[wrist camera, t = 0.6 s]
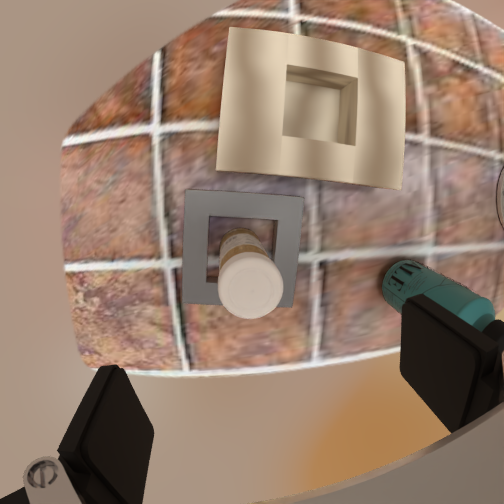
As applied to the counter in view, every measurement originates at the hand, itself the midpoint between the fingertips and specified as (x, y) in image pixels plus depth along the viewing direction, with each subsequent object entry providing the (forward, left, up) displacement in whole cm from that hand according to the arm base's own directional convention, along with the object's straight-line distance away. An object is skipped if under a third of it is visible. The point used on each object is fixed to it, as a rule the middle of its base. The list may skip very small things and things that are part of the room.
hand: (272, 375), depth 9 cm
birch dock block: (-7, -14, -25) cm, 29 cm away
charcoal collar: (-1, +1, -25) cm, 25 cm away
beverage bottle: (-21, +4, -26) cm, 33 cm away
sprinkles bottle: (-1, +1, -26) cm, 26 cm away
